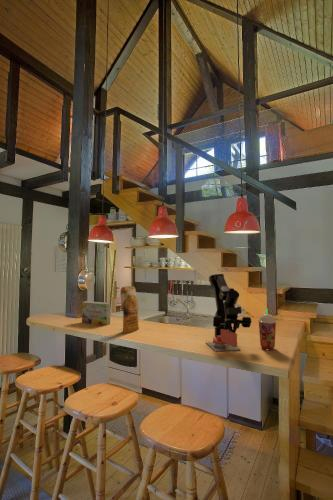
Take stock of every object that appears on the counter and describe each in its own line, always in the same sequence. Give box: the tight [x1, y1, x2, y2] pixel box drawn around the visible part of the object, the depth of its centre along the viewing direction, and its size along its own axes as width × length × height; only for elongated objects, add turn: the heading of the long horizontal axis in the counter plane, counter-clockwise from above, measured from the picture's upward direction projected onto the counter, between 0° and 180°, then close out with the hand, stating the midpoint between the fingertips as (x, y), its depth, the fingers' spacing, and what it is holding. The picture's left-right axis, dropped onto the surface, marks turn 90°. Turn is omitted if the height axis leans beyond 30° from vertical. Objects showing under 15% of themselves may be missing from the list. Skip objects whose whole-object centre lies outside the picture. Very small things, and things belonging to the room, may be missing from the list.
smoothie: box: [258, 308, 277, 351], centre depth 139 cm, size 8×8×20 cm
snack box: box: [81, 300, 111, 326], centre depth 196 cm, size 21×6×15 cm, turn 67°
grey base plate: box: [205, 341, 241, 352], centre depth 141 cm, size 13×14×3 cm
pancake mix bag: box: [120, 285, 140, 334], centre depth 175 cm, size 7×19×28 cm, turn 152°
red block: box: [212, 329, 238, 347], centre depth 137 cm, size 16×7×7 cm, turn 24°
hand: (233, 336), depth 134 cm, fingers closed
